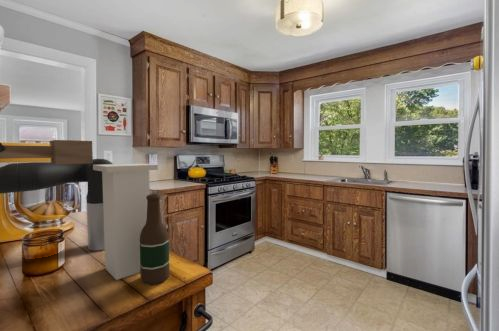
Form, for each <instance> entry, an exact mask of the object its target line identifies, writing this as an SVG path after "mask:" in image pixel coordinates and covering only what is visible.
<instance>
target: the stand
mask: <svg viewBox="0 0 499 331" xmlns="http://www.w3.org/2000/svg"><path fill="white" fill-rule="evenodd" d="M158 167H159V165H158V164H154V163H153V164H152V163H151V164H150V163H141V162H139V163H113V164H104V165H93V170H97V171H102V181H103V213H104V244H105V250H104V266H105V268H104V269H105V270H106V271H107V272H108V273H109V274H110V275H111V276H112V277H113V278H114V279H115V280H116V281H117V280H120V279H124V278H126V277H131V276H133V275H136V274H138V273H140V234H141V231H142V229H143V227H144V226H145V224H146V219H147V199H146V197H147V195H150V194H151V192H150V171H156V170H157V171H158V170H159V168H158Z"/></svg>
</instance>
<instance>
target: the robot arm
mask: <svg viewBox="0 0 499 331" xmlns="http://www.w3.org/2000/svg"><path fill="white" fill-rule="evenodd" d="M4 150H5V147H4V146H3V143H1V142H0V152H2V151H4ZM104 164H114V163H113V162H112V161H110V160H109V159H106V158H105V159H104V158H93V163H83V164H53V163H51V161H49V162H48V161H47V162H45V161H43V162H42V161H39V162H37V161H35V162H34V161H33V162H32V161H31V162H18V163H17V162H16V163H8V164H6V165H3V166H1V167H0V194H10V193H11V194H13V193H21V192H23V193H24V192H31V191H40V190H45V189H49V188H54V187H57V186H61V185H65V184H71V183H87V193H86V197H85V198H86V218H87V219H86V222H87V224H86V226H87V250H88V251H93V252H95V251H105V244H104V213H103V181H102V171H97V170H93V165H104Z"/></svg>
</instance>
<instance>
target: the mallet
mask: <svg viewBox="0 0 499 331" xmlns="http://www.w3.org/2000/svg"><path fill="white" fill-rule="evenodd" d="M2 145H3V144H2ZM3 146H4V147H5V150H4V151H2V152H0V159H9V160H10V159H50V162H51V163H53V164H83V163H93V159H94V158H93V157H94V156H93V153H94V152H93V141H92V140H74V139H73V140H69V139H68V140H67V139H52V140H49V145H9V144H8V145H3Z"/></svg>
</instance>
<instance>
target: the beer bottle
mask: <svg viewBox="0 0 499 331" xmlns="http://www.w3.org/2000/svg"><path fill="white" fill-rule="evenodd" d="M146 199H147V219H146V224H145V226H144V227H143V229H142V231H141V234H140V272H139V273H140V279H141V282H142V284H143V285H147V286H155V285H158V284H162V283H164V282H166V280H168V279H169V277H170V239H169V238H170V237H169V232H168V230H167V227H166V226H165V225H164V223H163V221H162V220H163V219H162V216H161V214H162V213H161V203H160V199H161V195H160V194H159V193H150V195H147V197H146Z"/></svg>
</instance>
